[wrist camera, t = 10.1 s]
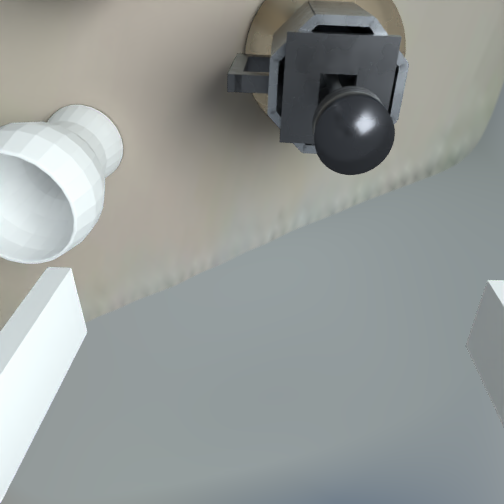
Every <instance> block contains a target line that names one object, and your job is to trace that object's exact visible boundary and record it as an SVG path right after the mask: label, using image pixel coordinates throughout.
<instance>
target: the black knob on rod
mask: <svg viewBox="0 0 504 504" xmlns="http://www.w3.org/2000/svg"><path fill="white" fill-rule="evenodd" d="M312 31H317V32H340V33H353V32H352V31H351V30H350V29H348V28H347V27H345V26H338V25H317V26H316V27H315V28H314V29H313V30H312ZM354 82H355V75H345V74H323V73H321V76H320V86H319V95H318V106H317V108H316V110H315V112H314V115H313V119H312V132H313V138H314V144H315V149H316V152H317V155H318V157H319V158H320V160H321V161H322V162H323V164H324V165H325V166H327V167H328V168H329V169H331V170H333V171H335V172H337V173H340V174H345V175H356V174H361V173H365V172H367V171H369V170H371V169H373V168H375V167H376V166H378V165H379V164H380V163H381V162H382V161H383V160H384V159H385V158H386V156H387V155H388V154H389V152H390V150H391V148H392V145H393V142H394V136H395V129H394V124H393V120H392V118H391V116H390V114H389V113H388V111H387V110H386V108H385V107H384V105H383V104H382V102H381V101H380V99H379V98H378V97H377V96H376V95H375V94H374V93H373V92H371V91H370V90H368V89H365V88H363V87H359V86H354Z"/></svg>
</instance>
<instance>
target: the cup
mask: <svg viewBox="0 0 504 504" xmlns="http://www.w3.org/2000/svg"><path fill="white" fill-rule="evenodd" d="M122 156H123V144H122V139H121V136H120V134H119V132H118V130H117V128H116V126H115V125H114V124H113V123H112V121H111V120H110V119H109V118H108V117H107V116H105V115H104V114H103V113H102V112H100V111H98V110H96V109H94V108H92V107H89V106H84V105H69V106H66V107H63V108H61V109H59V110H58V111H57V112H55V113H54V114H53V115H52V116H51V118H50V119H49V120H48V122H47V123H46V122H18V123H10V124H7V125H4V126H1V127H0V257H2V258H4V259H7V260H10V261H14V262H19V263H24V264H37V263H43V262H47V261H51V260H54V259H56V258H58V257H59V256H61V255H63V254H64V253H66V252H67V251H69V250H70V249H72V248H73V247H75V246H76V245H78V244H79V243H81V242H82V241H83V240H84V238H85V237H86V236H87V235H88V234H89V233H90V231H91V230H92V228H93V227H94V225H95V224H96V223H97V221H98V219H99V217H100V214H101V212H102V209H103V204H104V193H105V178H106V177H107V176H109V175H110V174H111V173H113V172H114V171H115V170H116V168H117V167H118V166H119V164H120V162H121V159H122Z"/></svg>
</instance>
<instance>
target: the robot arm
mask: <svg viewBox="0 0 504 504" xmlns="http://www.w3.org/2000/svg"><path fill="white" fill-rule="evenodd" d="M86 334H87V329H86V325H85V321H84V317H83V313H82V309H81V305H80V301H79V297H78V293H77V290H76V286H75V282H74V278H73V274H72V270H71V268H58V267H47V269H46V270H45V272H44V273H43V274H42V276H41V277H40V278H39V280H38V281H37V282H36V284H35V285H34V286H33V288H32V289H31V291H30V292H29V293H28V295H27V296H26V297H25V299H24V300H23V301H22V303H21V304H20V306H19V307H18V308H17V310H16V311H15V312H14V314H13V315H12V316H11V318H10V319H9V320H8V322H7V323H6V325H5V326H4V327H3V329H2V330H1V331H0V503H1V501H2V499H3V497H4V495H5V493H6V491H7V489H8V487H9V485H10V483H11V482H12V480H13V478H14V476H15V474H16V472H17V470H18V468H19V466H20V464H21V462H22V460H23V458H24V456H25V454H26V452H27V450H28V448H29V446H30V444H31V442H32V440H33V438H34V436H35V434H36V432H37V430H38V428H39V426H40V424H41V422H42V420H43V418H44V416H45V414H46V413H47V411H48V408H49V406H50V405H51V403H52V400H53V398H54V397H55V395H56V393H57V391H58V389H59V387H60V385H61V383H62V381H63V379H64V377H65V375H66V373H67V371H68V369H69V367H70V365H71V363H72V361H73V359H74V357H75V355H76V353H77V351H78V349H79V347H80V346H81V344H82V342H83V340H84V338H85V336H86ZM466 347H467V350H468V352H469V354H470V356H471V358H472V360H473V362H474V364H475V366H476V369H477V371H478V373H479V375H480V377H481V380H482V382H483V384H484V386H485V388H486V390H487V392H488V394H489V397H490V399H491V401H492V403H493V405H494V407H495V410H496V412H497V414H498V416H499V418H500V420H501V422H502V424H503V427H504V281H500V280H487V283H486V286H485V289H484V292H483V295H482V298H481V301H480V304H479V307H478V310H477V313H476V316H475V319H474V322H473V325H472V328H471V331H470V334H469V337H468V340H467V343H466Z"/></svg>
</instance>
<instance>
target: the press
mask: <svg viewBox="0 0 504 504" xmlns="http://www.w3.org/2000/svg"><path fill="white" fill-rule="evenodd" d="M317 25H338V26H345V27H347V28H348V29H350V30H351V31H352V32H353V33H340V32H317V31H312V30H313V29H314V28H315V27H316V26H317ZM408 67H409V64H408V61H407V60H406V59H405V33H404V28H403V24H402V20H401V17H400V15H399V12H398V10H397V8H396V6H395V4H394V3H393V1H392V0H265V1H264V2H263V4H262V6H261V7H260V9H259V10H258V12H257V14H256V16H255V18H254V20H253V22H252V24H251V27H250V30H249V33H248V37H247V42H246V50H245V54H237V55H236V57H235V59H234V61H233V63H232V66H231V68H230V70H229V72H228V81H227V92H244V93H253V96H254V98H255V99H256V101H257V103H258V104H259V106H260V107H261V109H262V110H263V111H264V112H265V114H267V115H268V116H269V117H270V118H271V119H272V120H273V122H274V123H275V124H276V125H277V126H278V127H279V128H280V142H285V143H293V144H294V145H295V146H296V147H297V148H298V149H299V150H300V151H301V152H303V153H314V154H317V152H316V149H315V144H314V138H313V132H312V119H313V115H314V112H315V110H316V108H317V106H318V95H319V86H320V76H321V73H323V74H345V75H355V82H354V86H359V87H363V88H365V89H368V90H370V91H371V92H373V93H374V94H375V95H376V96H377V97H378V98H379V99H380V101H381V102H382V104H383V105H384V107H385V108H386V110H387V111H388V113H389V114H390V116H391V118H392V120H393V124H395V123H396V122H397V121H396V120H398V117H399V112H400V107H401V102H402V97H403V92H404V87H405V82H406V77H407V72H408Z"/></svg>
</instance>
